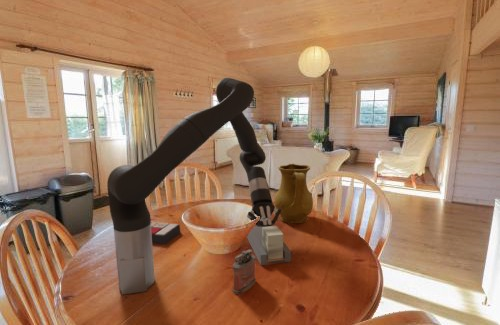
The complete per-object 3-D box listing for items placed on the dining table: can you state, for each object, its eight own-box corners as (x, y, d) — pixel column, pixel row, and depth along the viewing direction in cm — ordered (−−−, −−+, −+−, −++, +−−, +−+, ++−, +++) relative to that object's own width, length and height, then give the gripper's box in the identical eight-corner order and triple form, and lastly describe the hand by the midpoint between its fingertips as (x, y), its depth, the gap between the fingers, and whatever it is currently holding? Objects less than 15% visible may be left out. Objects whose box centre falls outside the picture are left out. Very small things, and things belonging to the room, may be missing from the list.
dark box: (148, 220, 113) (179, 222, 108) (149, 230, 113) (180, 232, 109) (129, 231, 102) (164, 234, 98) (131, 242, 103) (165, 245, 99)
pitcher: (316, 213, 127) (316, 162, 122) (307, 230, 111) (306, 171, 106) (281, 209, 135) (280, 160, 130) (268, 225, 118) (266, 169, 113)
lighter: (249, 277, 78) (248, 244, 77) (258, 281, 76) (258, 248, 75) (229, 290, 72) (229, 256, 71) (239, 296, 70) (238, 260, 68)
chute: (290, 261, 87) (291, 251, 86) (260, 265, 84) (260, 255, 84) (266, 227, 113) (266, 219, 113) (243, 229, 111) (243, 221, 111)
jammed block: (282, 257, 86) (283, 234, 85) (267, 259, 85) (268, 235, 84) (276, 247, 93) (276, 225, 92) (262, 249, 92) (262, 227, 91)
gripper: (274, 195, 107) (284, 238, 97) (241, 198, 104) (248, 242, 94) (278, 186, 101) (290, 230, 91) (244, 188, 98) (252, 234, 88)
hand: (269, 236), depth 92 cm, fingers closed
